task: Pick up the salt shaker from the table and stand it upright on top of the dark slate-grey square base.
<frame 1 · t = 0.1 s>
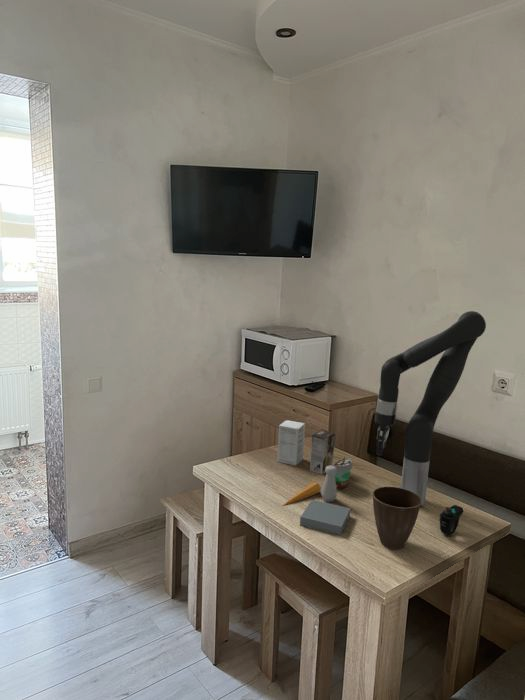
hand: (380, 451, 195), 17 cm above the table, tool pointing down, fingers open, 8 cm apart
carrot: (299, 499, 191), on the table
base plinth: (325, 520, 175), on the table
plant pot: (391, 543, 163), on the table
salt shaker: (328, 499, 191), on the table
coffee box: (320, 469, 218), on the table
controller: (449, 533, 172), on the table
food container: (342, 486, 203), on the table
supplement box: (290, 460, 226), on the table
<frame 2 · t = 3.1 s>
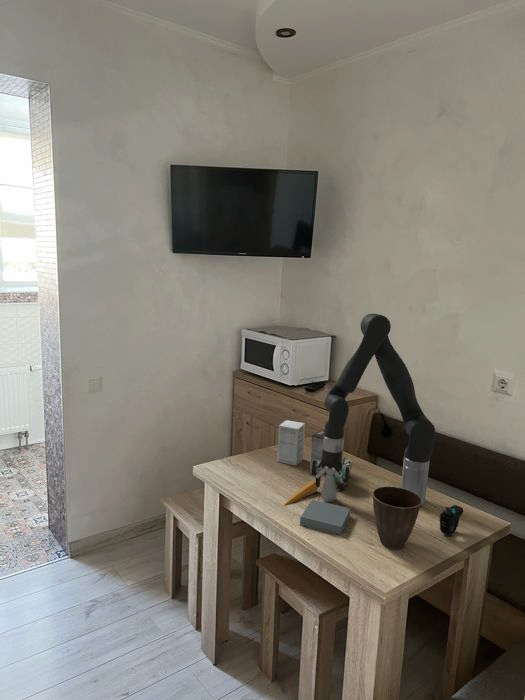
hand: (329, 489, 190), 4 cm above the table, tool pointing down, fingers open, 8 cm apart
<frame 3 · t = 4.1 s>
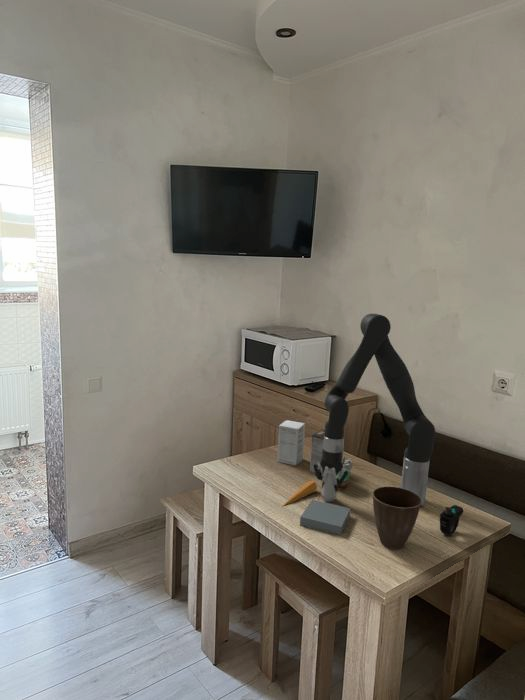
hand: (329, 491, 190), 3 cm above the table, tool pointing down, fingers closed on salt shaker, 3 cm apart
salt shaker: (328, 499, 191), on the table, touching gripper
everything else where it was.
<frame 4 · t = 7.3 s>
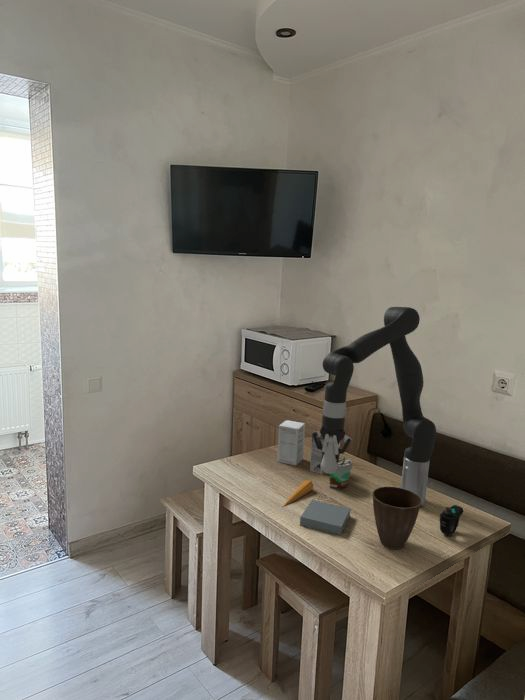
hand: (330, 462, 172), 21 cm above the table, tool pointing down, fingers closed on salt shaker, 3 cm apart
salt shaker: (329, 472, 172), point 18 cm above the table, touching gripper
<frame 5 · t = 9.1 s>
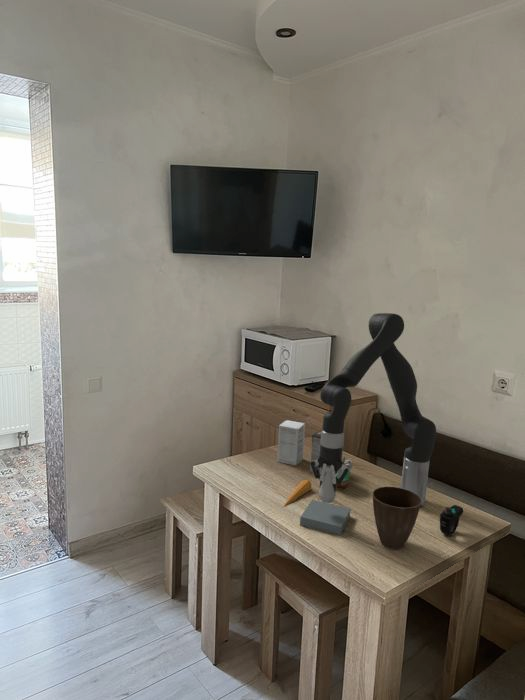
hand: (327, 491, 173), 11 cm above the table, tool pointing down, fingers closed on salt shaker, 3 cm apart
salt shaker: (326, 500, 174), point 7 cm above the table, touching gripper
when the fingers open (8 cm above the table, at t = 10.5 s): salt shaker drops 1 cm, resting on base plinth.
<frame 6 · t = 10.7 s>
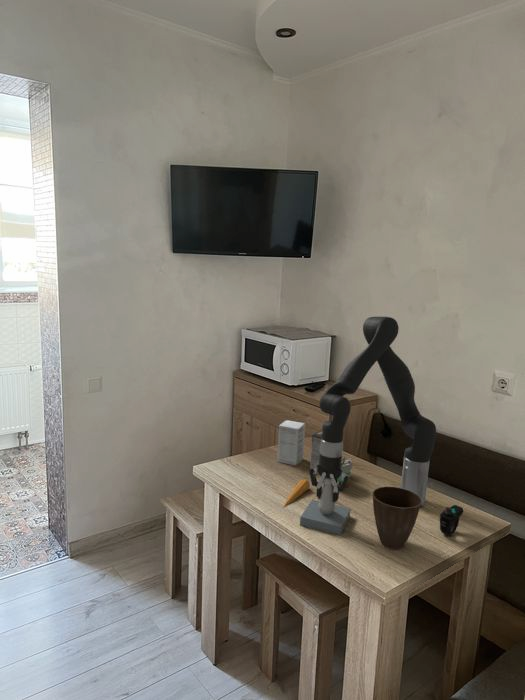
hand: (327, 499, 174), 8 cm above the table, tool pointing down, fingers open, 4 cm apart
salt shaker: (326, 512, 175), point 3 cm above the table, touching base plinth
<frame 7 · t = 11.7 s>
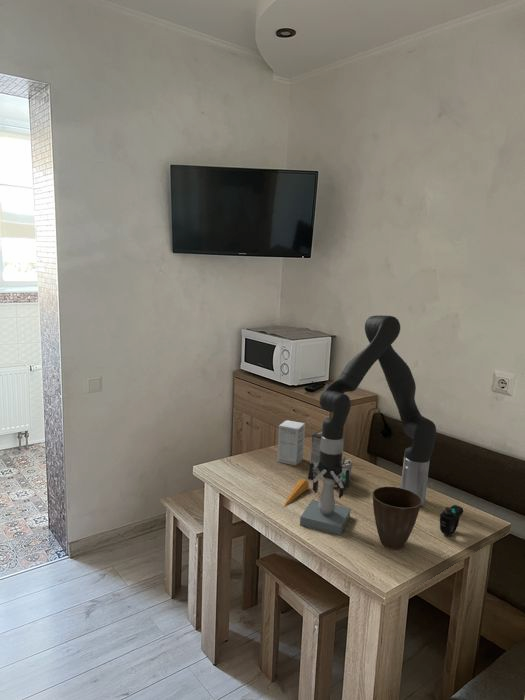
hand: (328, 494, 173), 10 cm above the table, tool pointing down, fingers open, 8 cm apart
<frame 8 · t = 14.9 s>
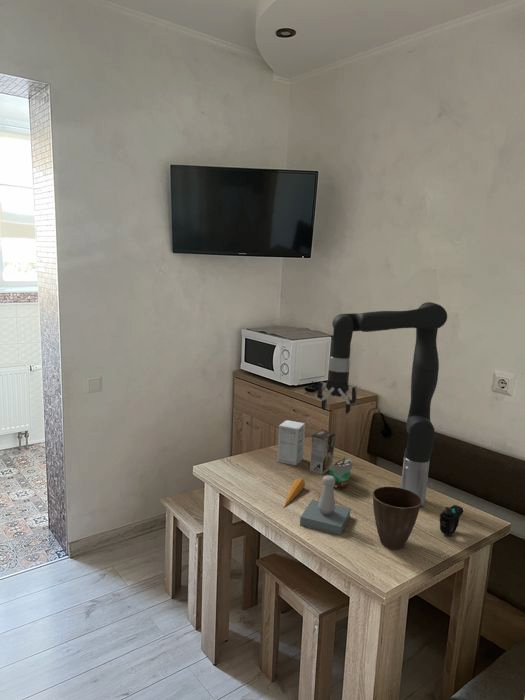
hand: (335, 411, 189), 33 cm above the table, tool pointing down, fingers open, 8 cm apart
at the end: salt shaker inside the target area on the base plinth (0.1 cm from its centre), point 2.8 cm above the base plinth's base; salt shaker tilted 0°; the gripper is holding nothing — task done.
